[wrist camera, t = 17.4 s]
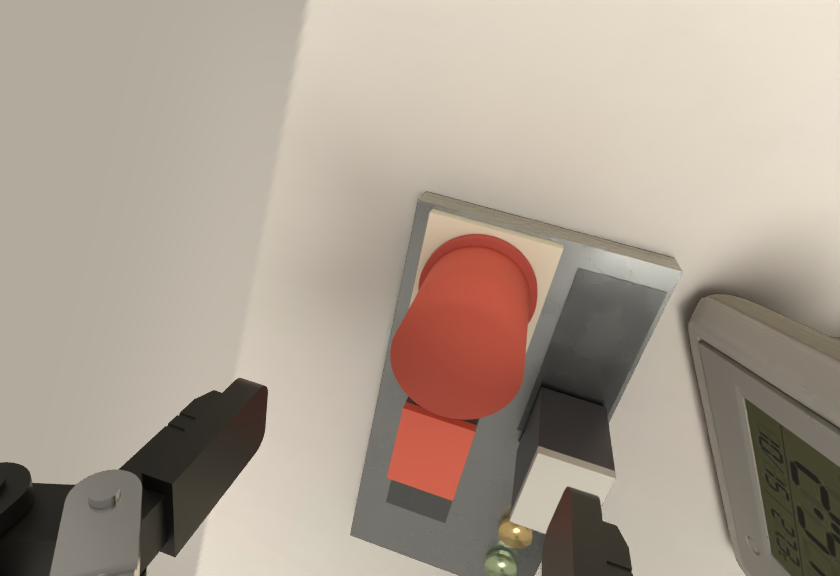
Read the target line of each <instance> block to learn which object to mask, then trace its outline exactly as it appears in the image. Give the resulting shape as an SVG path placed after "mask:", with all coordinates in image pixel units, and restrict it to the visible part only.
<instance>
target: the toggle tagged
mask: <svg viewBox="0 0 840 576" xmlns="http://www.w3.org/2000/svg"><path fill="white" fill-rule="evenodd" d="M477 423H478V419H469V420H461V419H452V418H447V417H443V416H440V415H437V414H434V413H432V412H430V411H428V410H426V409H424V408H423V407H421V406H420V405H418V404H417V403H415V402H414V401H413V400H412V399H411V398H410V397H409V396H408V398H407V400H406V403H405V405H404V407H403V411H402V415H401V419H400V423H399V428H398V432H397V436H396V440H395V445H394V449H393V453H392V457H391V462H390V466H389V470H388V474H387V478H389V479H391V480H394V481H397V482H400V483H403V484H406V485H408V486H411V487H414V488H417V489H420V490H423V491H426V492H428V493H431V494H434V495H437V496H440V497H443V498H445V499H448V500H451V501H453V499H454V496H455V493H456V490H457V487H458V483H459V480H460V477H461V474H462V471H463V468H464V465H465V462H466V459H467V456H468V453H469V450H470V447H471V444H472V441H473V438H474V435H475V432H476V428H477Z"/></svg>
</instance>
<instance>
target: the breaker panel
mask: <svg viewBox="0 0 840 576" xmlns="http://www.w3.org/2000/svg"><path fill="white" fill-rule="evenodd" d="M432 209H436V210H440V211H444V212H447V213H451V214H455V215H458V216H462V217H466V218H469V219H473V220H477V221H480V222H484V223H488V224H491V225H495V226H499V227H502V228H506V229H510V230H513V231H517V232H521V233H524V234H528V235H532V236H535V237H539V238H543V239H546V240H550V241H554V242H557V243H561V244H563V252H562V254H561V257H560V260H559V263H558V266H557V268H556V271H555V274H554V277H553V280H552V282H551V285H550V288H549V291H548V294H547V296H546V299H545V302H544V305H543V308H542V310H541V313H540V316H539V319H538V322H537V324H536V327H535V330H534V333H533V335H532V338H531V341H530V344H529V347H528V349H527V352H526V355H525V369H524V377H523V381H522V385H521V387H520V389H519V391H518V393H517V394H516V396H515V397H514V399H513V400H512V401H511V402H510V403H509V404H508V405H507V406H505V407H504V408H503V409H501V410H500V411H498V412H496V413H494V414H492V415H489V416H486V417H483V418H478V423H477V428H476V432H475V435H474V438H473V441H472V444H471V447H470V450H469V453H468V456H467V459H466V462H465V465H464V468H463V471H462V474H461V477H460V480H459V483H458V487H457V490H456V493H455V496H454V499H453V501H451V500H448V499H445V498H443V497H440V496H437V495H434V494H431V493H428V492H426V491H423V490H420V489H417V488H414V487H411V486H408V485H406V484H403V483H400V482H397V481H394V480H391V479H389V478H387V474H388V470H389V466H390V462H391V457H392V453H393V449H394V445H395V440H396V436H397V432H398V428H399V423H400V419H401V415H402V411H403V407H404V405H405V403H406V400H407V398H408V395H407V394H406V393H405V392H404V391H403V389H402V388H401V387H400V385H399V383H398V382H397V380H396V378H395V376H394V373H393V370H392V366H391V360H390V350H391V344H392V341H393V337H394V335H395V333H396V331H397V329H398V328H399V326H400V324H401V322H402V320H403V319H404V317H405V315H406V313H407V311H408V309H409V306H410V301H411V296H412V292H413V287H414V283H415V278H416V273H417V269H418V264H419V259H420V255H421V250H422V246H423V241H424V236H425V232H426V227H427V222H428V218H429V213H430V211H431V210H432ZM681 273H682V270H681V268H680V267H679V265H678V263H677V261H676V260H675V258H672V257H668V256H665V255H661V254H657V253H654V252H650V251H646V250H642V249H639V248H635V247H631V246H627V245H624V244H620V243H616V242H613V241H609V240H605V239H601V238H598V237H594V236H590V235H587V234H583V233H579V232H575V231H572V230H568V229H564V228H561V227H557V226H553V225H549V224H546V223H542V222H538V221H535V220H531V219H527V218H523V217H520V216H516V215H512V214H508V213H505V212H501V211H497V210H494V209H490V208H486V207H482V206H479V205H475V204H471V203H468V202H464V201H460V200H456V199H453V198H449V197H445V196H442V195H438V194H434V193H430V192H427V191H426V192H425V193H424V194H423V195H422V196H421V197H420V198H419V199H418V203H417V208H416V213H415V218H414V222H413V227H412V232H411V237H410V242H409V247H408V252H407V257H406V262H405V267H404V272H403V277H402V282H401V287H400V292H399V296H398V301H397V306H396V311H395V316H394V321H393V326H392V331H391V336H390V341H389V346H388V351H387V356H386V361H385V365H384V370H383V375H382V380H381V385H380V390H379V395H378V400H377V405H376V410H375V415H374V420H373V425H372V430H371V434H370V439H369V444H368V449H367V454H366V459H365V464H364V469H363V474H362V479H361V484H360V489H359V494H358V499H357V503H356V508H355V513H354V518H353V523H352V528H351V533H350V535H351V536H354V537H357V538H359V539H362V540H365V541H367V542H370V543H373V544H375V545H378V546H381V547H384V548H386V549H389V550H392V551H394V552H397V553H400V554H402V555H405V556H408V557H410V558H413V559H416V560H419V561H421V562H424V563H427V564H429V565H432V566H435V567H437V568H440V569H443V570H446V571H448V572H451V573H454V574H456V575H459V576H534V575H535V573H536V571H537V569H538V567H539V565H540V563H541V561H542V551H543V544H544V539H545V534H544V533H541V532H538V531H535V530H533V529H530V528H527V527H524V526H521V525H518V524H516V523H513V522H510V512H511V502H512V493H513V483H514V474H515V464H516V455H517V448H518V446H519V443H520V441H521V438H522V436H523V433H524V430H525V428H526V425H527V423H528V420H529V418H530V415H531V412H532V410H533V407H534V405H535V402H536V400H537V397H538V394H539V392H540V389H541V387H543V388H547V389H550V390H553V391H556V392H559V393H562V394H566V395H569V396H572V397H575V398H578V399H582V400H585V401H588V402H591V403H594V404H598V405H601V406H604V407H606V409H607V417H608V423H609V421H610V419H611V417H612V415H613V413H614V411H615V409H616V407H617V405H618V403H619V401H620V399H621V396H622V394H623V392H624V390H625V388H626V386H627V384H628V382H629V380H630V378H631V376H632V374H633V372H634V370H635V368H636V366H637V364H638V362H639V360H640V357H641V355H642V353H643V351H644V349H645V347H646V345H647V343H648V341H649V339H650V337H651V335H652V333H653V331H654V329H655V327H656V325H657V323H658V321H659V318H660V316H661V314H662V312H663V310H664V308H665V306H666V304H667V302H668V300H669V298H670V296H671V294H672V292H673V290H674V288H675V286H676V284H677V282H678V279H679V277H680V275H681Z"/></svg>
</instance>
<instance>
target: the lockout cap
mask: <svg viewBox="0 0 840 576" xmlns="http://www.w3.org/2000/svg"><path fill="white" fill-rule="evenodd" d="M537 293H538V292H537V280H536V276H535V273H534V270H533V268H532V266H531V264H530V263H529V261H528V260H527V258H526V257H525V256H524V255H523V254H522V253H521V252H520V251H519V250H518V249H517V248H516V247H515V246H513V245H512V244H510V243H508V242H506V241H504V240H502V239H500V238H497V237H494V236H490V235H485V234H468V235H462V236H459V237H456V238H453V239H451V240H449V241H447V242H445V243H444V244H442V245H441V246H440V247H439V248H437V249H436V250H435V251H434V253H433V254H432V255H431V256H430V258H429V259H428V261H427V262H426V264H425V266H424V268H423V270H422V272H421V275H420V279H419V285H418V293H417V295H416V297H415V299H414V300H413V302H412V304H411V306H410V308H409V309H408V311H407V313H406V315H405V317H404V319H403V320H402V322H401V324H400V326H399V328H398V329H397V331H396V333H395V335H394V337H393V341H392V344H391V350H390V360H391V366H392V370H393V373H394V376H395V378H396V380H397V382H398V383H399V385H400V387H401V388H402V389H403V391H404V392H405V393H406V394H407V395H408V396H409V397H410V398H411V399H412V400H413V401H414V402H415V403H417V404H418V405H420V406H421V407H423V408H424V409H426V410H428V411H430V412H432V413H434V414H437V415H440V416H443V417H447V418H452V419H461V420H469V419H478V418H483V417H486V416H489V415H492V414H494V413H496V412H498V411H500V410H501V409H503V408H504V407H505V406H507V405H508V404H509V403H510V402H511V401H512V400H513V399H514V397H515V396H516V394H517V393H518V391H519V389H520V387H521V385H522V381H523V377H524V369H525V355H526V342H527V328H528V324H529V322H530V321H531V319H532V317H533V315H534V312H535V309H536V304H537Z"/></svg>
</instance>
